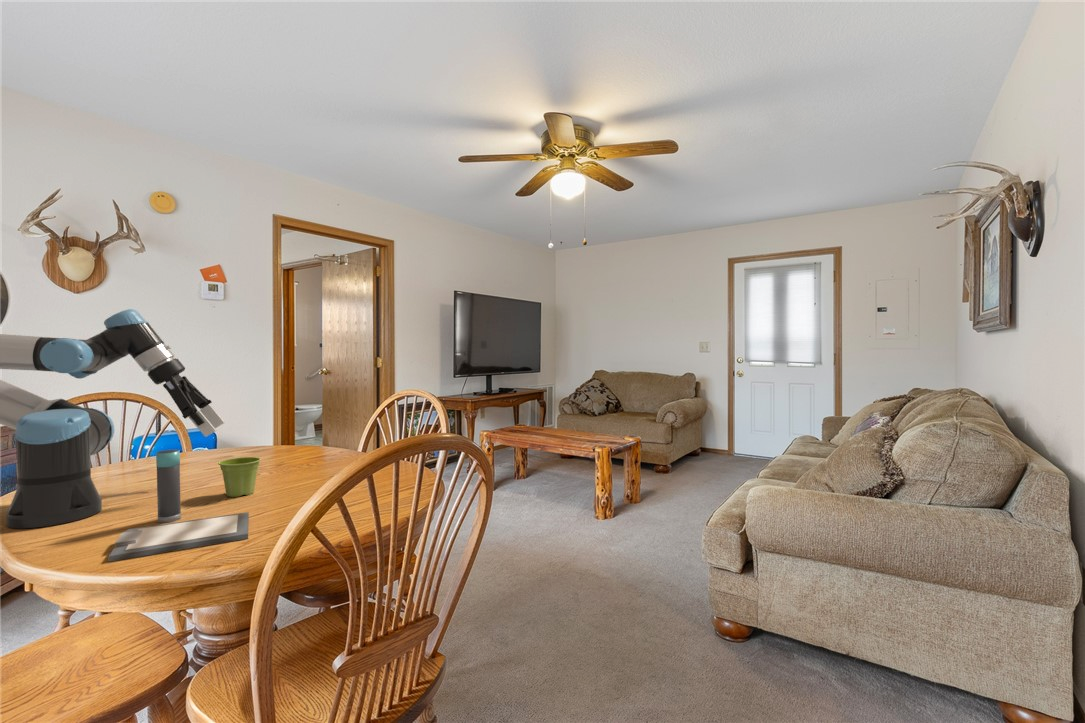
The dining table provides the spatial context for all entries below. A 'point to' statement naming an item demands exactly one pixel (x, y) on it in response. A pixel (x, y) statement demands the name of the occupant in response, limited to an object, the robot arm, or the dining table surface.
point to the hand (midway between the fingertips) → (215, 429)
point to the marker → (168, 485)
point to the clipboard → (180, 536)
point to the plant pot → (239, 475)
